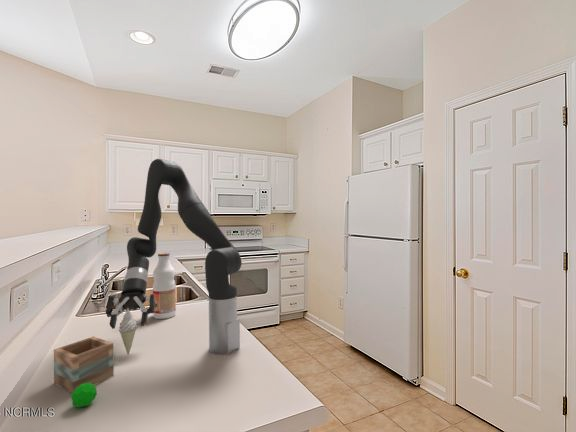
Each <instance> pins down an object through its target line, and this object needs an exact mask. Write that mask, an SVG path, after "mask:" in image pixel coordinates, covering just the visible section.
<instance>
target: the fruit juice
mask: <svg viewBox="0 0 576 432" xmlns="http://www.w3.org/2000/svg"><path fill="white" fill-rule="evenodd" d="M170 256H171V253H170V252H159V253H158V254H157V257H158V261H157V265H156V267H155V268H154V269H153V271H152V276H153V283H152V294H153V295H154V298H155V303H154V313H152V316H153V319H157V320H158V319H159V320H164V319H169V318H172V317H174V316H176V314H177V313H176V312H177V308H176V305H177V304H176V300H177V299H176V281H175V276H176V270H175V268H174V267H173V265H172V263H171V261H170Z"/></svg>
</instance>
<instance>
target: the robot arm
mask: <svg viewBox="0 0 576 432" xmlns="http://www.w3.org/2000/svg"><path fill="white" fill-rule="evenodd" d="M162 185H165V186H170V187H171V189H172V190H173V191H174V192H175V194H176V196H177V198H178V199H177V214H178V216H179V217H180V219H181V220H182V222H183V224H184V226H185V227H186V228H187V229H188V230H189V231H190V232H191V233H192V234H193V235H195V236H196V237H198V238H199V239H200V240H202V241H203V242H205V243H206V244H207V245H208V246H209V248H210V249H211V250H210V251H209V252H208V253H207V255H206V257H205V260H204V271H205V272H204V273H205V284H206V286H205V287H206V290H207V293H208V336H209V337H208V344H209V345H208V348H209V350H208V351H210V352H211V353H213V354H217V355H218V354H220V355H221V354H223V355H224V354H226V355H229V354H230V353H232V352H234V351H236V350H237V349H240V347H241V336H240V335H241V331H240V329H241V326H240V325H241V323H240V320H241V319H240V318H238V290H237V287H236V286H235V285H233V284H230V281H229V275H233V274H235V273H237V272H239V271H240V270H241V268H242V257H241V254H240V253H239V251H238V250H237V248H236V247H235V246H234V245H233V244H232V242H231V241H230V240H229V239H228V238H227V237H226V235H225V233H223V231H222V230H221V229H220V227H219V226H218V224H217V222H216V221H215V220H214V218H213V217H212V215H211V213H210V212H209V210H208V209H207V207H206V206H205V204H204V202H202V200H201V199H200V198H199V196H198V195H197V192H196V191H195V189H194V188H193V186H192V185H191V183H190V181H189V179H188V177H187V175H186V172H185V171H184V169H183V167H182V166H181V165H180V163H178V162H175V161H172V160H167V159H163V158H155V159H154V160H153V161H151V163H150V165H149V167H148V171H147V175H146V186H145V195H144V202H143V207H142V208H143V209H142V212H141V216H140V219H139V222H138V226H137V232H138V233H139V234H141V235H143V236H145V237H147V238H143V237H142V238H141V237H131V238H130V239H128V242H127V244H126V252H127V257H128V264H127V269H126V274H125V276H124V280H123V284H122V289H121V294H120V297H118V298H114V297H113V296H111V297H110V298H109V300H108V303H107V306H106V309H105V314H106V315H105V316H107V317H108V318H110V319H109V326H110V328H111V329H112V330H113V329H116V325H117V321H118V320H117V319H118V317H119V316H120V314H121V315H122V314H123V313H124V312H126V311H127V308H128V309H129V311H137V310H139V311H140V312H141V320H140V326H141V327H144V326H145V325H146V324H147V321H148V315H150V314H153V313H154V303H155V298H154V295H153V293H152V294H150V295H146V292H147V287H148V283H149V282H148V280H149V276H148V275H149V267H150V260H149V259H148V258H152V257H153V256H154V255H155V254H156V252H157V234H158V229H159V226H160V224H161V219H162V207H161V205H160V199H159V194H160V190H161V187H162ZM146 301H147V302H148V303H149V307H148V308H146V306H145V304H144V303H145V302H146ZM118 303H119V304H118ZM117 304H118V305H117ZM115 306H116V307H115ZM114 307H115V309H114Z"/></svg>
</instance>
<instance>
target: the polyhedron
mask: <svg viewBox="0 0 576 432" xmlns="http://www.w3.org/2000/svg"><path fill="white" fill-rule="evenodd" d="M95 385H96V384H95ZM95 385H94V384H92V383H83V384H81V385H80V386H78V387H77V388H76V389H75V390H74V391H73V393H71V395H70V397H71V402H72V405H73V406H74V407H75V408H84V407H85V408H86V407H88V406H89V405H90V404H92V403H93V401H94V400H96V397H97V394H98V393H97V388H96V386H95Z"/></svg>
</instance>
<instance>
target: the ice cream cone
mask: <svg viewBox="0 0 576 432" xmlns="http://www.w3.org/2000/svg"><path fill="white" fill-rule="evenodd" d="M118 328H119V330H118V332H119V333H120V336H121V340H122V342H123V345H124V348H125V350H126V351H125V352H126V354H127V355H130V352H131V349H132V346H133V342H134V338H135V334H136V331H137V329H138V327H137V321H136V319H134V318H133V315H132V313H131V310H129V309H128V308H127V311H126V310H125V314H124V315H123V318H122V320H121V322H120V323H119V327H118Z"/></svg>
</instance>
